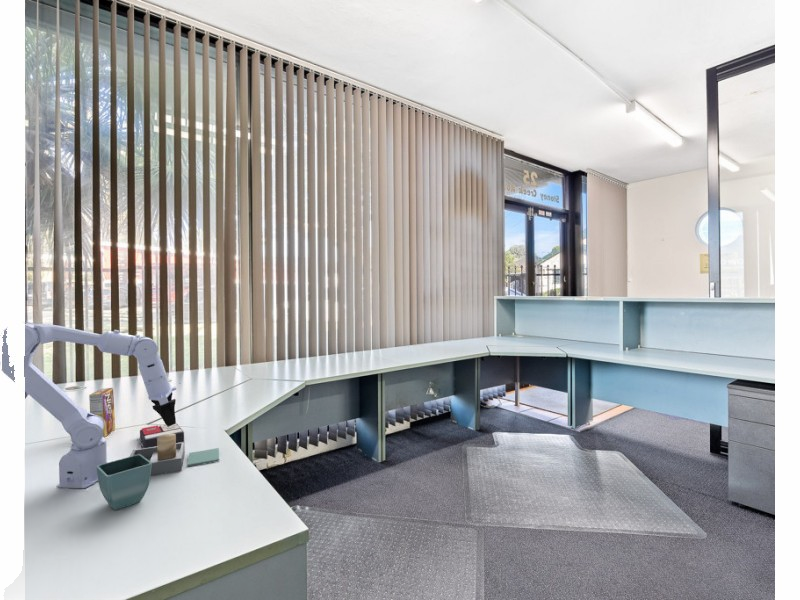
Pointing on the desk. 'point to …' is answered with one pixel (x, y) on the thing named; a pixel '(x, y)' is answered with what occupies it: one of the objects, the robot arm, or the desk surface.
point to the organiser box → (163, 465)
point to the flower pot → (124, 480)
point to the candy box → (104, 408)
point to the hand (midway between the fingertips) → (170, 421)
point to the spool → (166, 446)
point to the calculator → (159, 434)
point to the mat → (203, 457)
